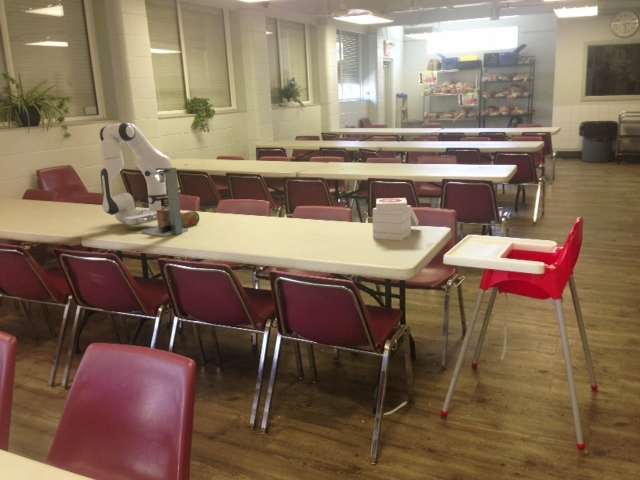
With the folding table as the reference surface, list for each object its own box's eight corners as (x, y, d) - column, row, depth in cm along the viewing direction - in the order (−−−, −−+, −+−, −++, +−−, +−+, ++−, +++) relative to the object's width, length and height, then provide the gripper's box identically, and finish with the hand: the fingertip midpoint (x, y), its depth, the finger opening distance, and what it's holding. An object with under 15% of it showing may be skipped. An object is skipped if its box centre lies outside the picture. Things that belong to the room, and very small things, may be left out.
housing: (165, 228, 321) (163, 205, 318) (171, 229, 319) (169, 205, 315) (158, 229, 318) (156, 206, 315) (164, 230, 315) (161, 207, 312)
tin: (180, 229, 325) (178, 214, 323) (176, 228, 327) (175, 214, 325) (200, 224, 337) (199, 210, 335) (196, 223, 339) (195, 209, 337)
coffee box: (162, 224, 338) (159, 198, 334) (166, 222, 344) (163, 196, 340) (177, 224, 337) (174, 197, 333) (181, 222, 343) (178, 195, 339)
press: (164, 227, 331) (158, 164, 322) (190, 231, 317) (184, 166, 309) (131, 235, 313) (123, 169, 305) (157, 240, 300) (150, 171, 292)
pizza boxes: (421, 228, 303) (422, 194, 299) (403, 241, 277) (403, 204, 273) (387, 226, 312) (387, 193, 308) (366, 238, 286) (366, 203, 282)
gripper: (119, 215, 323) (134, 217, 315) (149, 208, 339) (164, 210, 331) (120, 225, 325) (135, 228, 317) (150, 219, 341) (165, 221, 333)
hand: (150, 219), depth 324 cm, fingers open, 5 cm apart
